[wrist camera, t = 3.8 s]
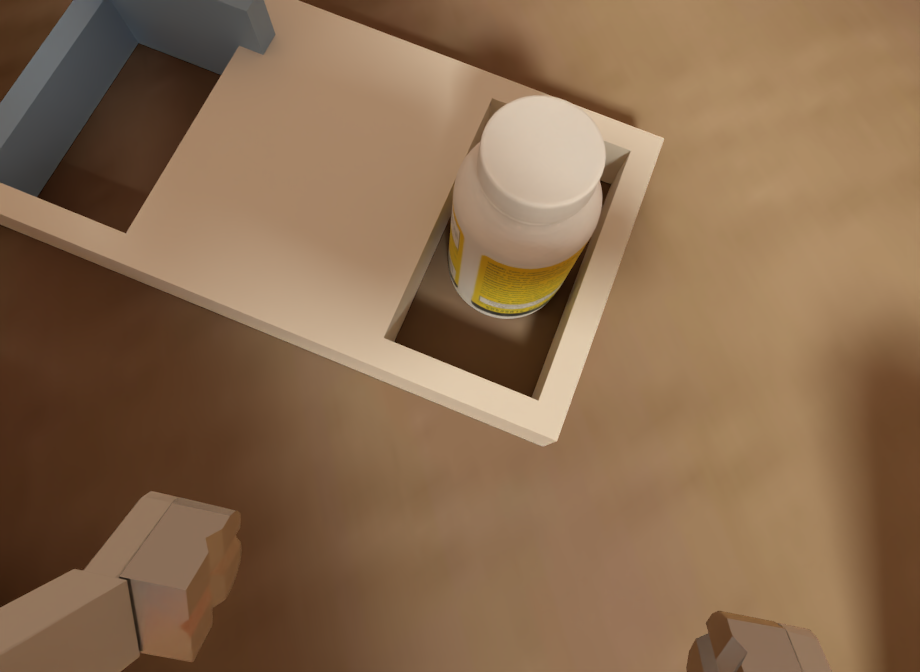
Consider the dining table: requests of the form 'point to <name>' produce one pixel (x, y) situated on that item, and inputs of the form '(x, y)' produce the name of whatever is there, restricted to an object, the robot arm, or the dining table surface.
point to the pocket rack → (305, 184)
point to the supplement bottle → (525, 205)
